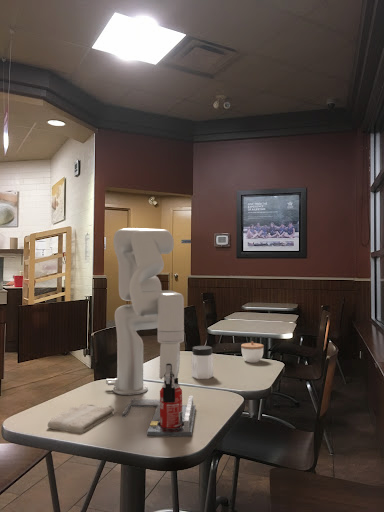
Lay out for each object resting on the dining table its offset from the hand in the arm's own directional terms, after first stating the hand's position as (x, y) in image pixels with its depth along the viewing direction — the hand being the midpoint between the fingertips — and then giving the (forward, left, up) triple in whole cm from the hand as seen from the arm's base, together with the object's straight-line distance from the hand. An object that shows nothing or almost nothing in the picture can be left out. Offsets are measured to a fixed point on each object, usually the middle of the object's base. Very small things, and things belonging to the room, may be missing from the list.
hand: (170, 396), depth 124 cm
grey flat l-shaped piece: (-10, +17, -9) cm, 21 cm away
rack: (0, +5, -9) cm, 10 cm away
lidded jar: (+30, +88, -9) cm, 93 cm away
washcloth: (-27, +5, -10) cm, 29 cm away
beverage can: (0, 0, -9) cm, 9 cm away
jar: (+7, +58, -9) cm, 59 cm away
